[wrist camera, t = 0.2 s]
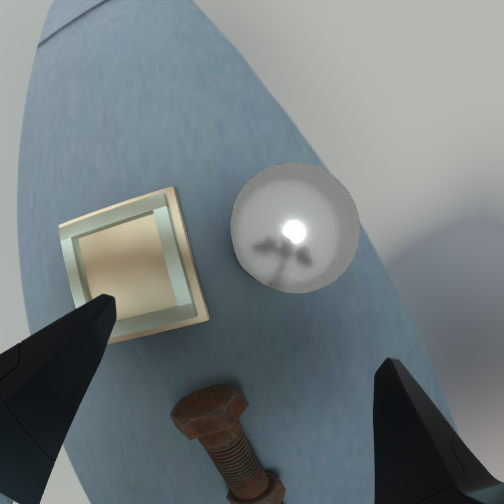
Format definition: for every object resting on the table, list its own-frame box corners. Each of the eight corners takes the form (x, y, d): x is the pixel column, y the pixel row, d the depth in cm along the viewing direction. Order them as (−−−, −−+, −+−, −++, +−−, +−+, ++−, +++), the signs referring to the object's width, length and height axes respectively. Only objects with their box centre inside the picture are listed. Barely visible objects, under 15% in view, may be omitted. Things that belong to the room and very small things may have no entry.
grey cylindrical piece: (306, 269, 24) (375, 272, 11) (243, 286, 24) (250, 311, 11) (289, 206, 24) (338, 149, 12) (226, 223, 24) (214, 179, 11)
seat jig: (210, 317, 23) (206, 323, 21) (94, 344, 23) (82, 351, 21) (176, 189, 24) (169, 181, 21) (65, 226, 23) (51, 223, 21)
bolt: (262, 498, 25) (198, 383, 25) (308, 500, 23) (249, 378, 22) (237, 538, 20) (155, 421, 19) (286, 545, 17) (208, 423, 17)
